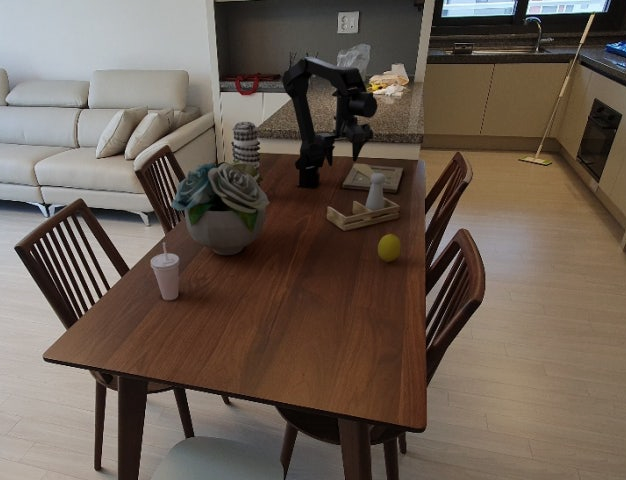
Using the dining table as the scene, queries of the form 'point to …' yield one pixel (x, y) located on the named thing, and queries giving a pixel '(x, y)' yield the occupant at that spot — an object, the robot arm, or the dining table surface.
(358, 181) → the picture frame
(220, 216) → the flower arrangement
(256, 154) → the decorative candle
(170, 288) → the smoothie
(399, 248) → the lemon
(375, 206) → the salt shaker
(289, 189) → the dining table surface
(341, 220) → the rack
